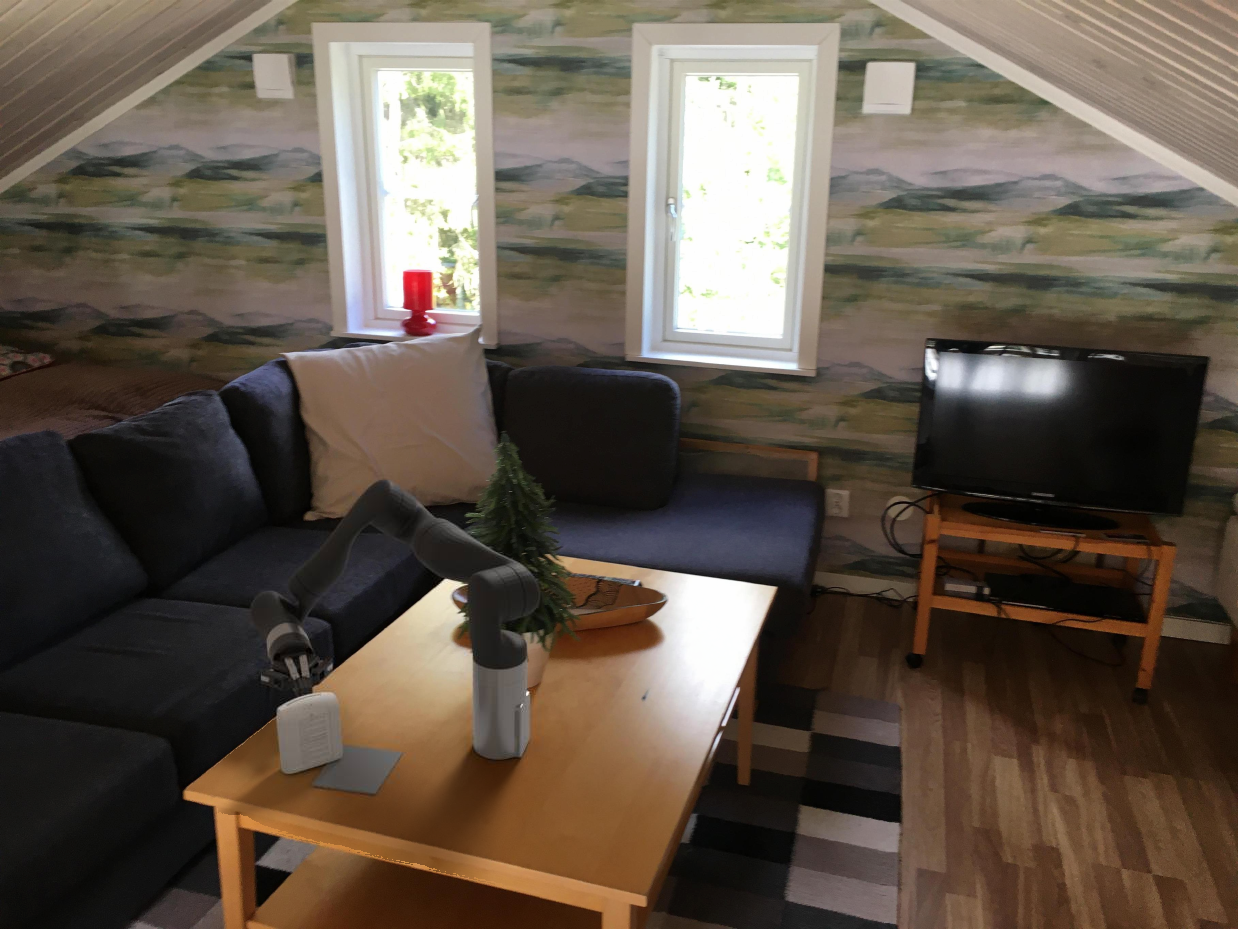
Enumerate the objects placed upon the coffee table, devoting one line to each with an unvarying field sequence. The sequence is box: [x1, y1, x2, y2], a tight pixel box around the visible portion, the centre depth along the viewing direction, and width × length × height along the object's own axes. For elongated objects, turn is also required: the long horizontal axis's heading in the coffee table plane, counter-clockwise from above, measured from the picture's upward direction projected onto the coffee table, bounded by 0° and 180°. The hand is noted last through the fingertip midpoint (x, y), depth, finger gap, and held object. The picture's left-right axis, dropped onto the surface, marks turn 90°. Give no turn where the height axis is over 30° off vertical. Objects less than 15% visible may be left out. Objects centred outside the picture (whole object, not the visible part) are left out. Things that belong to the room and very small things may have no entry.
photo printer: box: [276, 691, 343, 775], centre depth 170 cm, size 10×4×12 cm, turn 123°
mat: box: [310, 743, 404, 796], centre depth 171 cm, size 11×12×1 cm
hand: (305, 693), depth 175 cm, fingers closed
